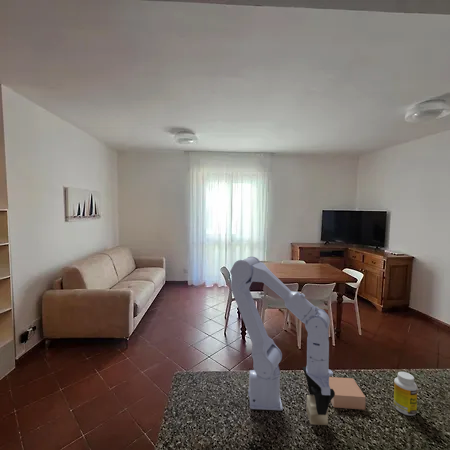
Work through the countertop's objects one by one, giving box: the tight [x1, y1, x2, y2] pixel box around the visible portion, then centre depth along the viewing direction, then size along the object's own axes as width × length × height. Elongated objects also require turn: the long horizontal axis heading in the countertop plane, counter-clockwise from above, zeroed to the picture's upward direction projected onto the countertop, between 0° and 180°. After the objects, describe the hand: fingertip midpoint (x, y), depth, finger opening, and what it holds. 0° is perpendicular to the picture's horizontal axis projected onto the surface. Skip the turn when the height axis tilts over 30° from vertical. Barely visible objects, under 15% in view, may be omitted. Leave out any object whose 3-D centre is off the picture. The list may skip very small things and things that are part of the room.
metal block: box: [305, 394, 329, 426], centre depth 72 cm, size 4×4×5 cm
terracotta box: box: [329, 376, 367, 411], centre depth 80 cm, size 9×9×4 cm
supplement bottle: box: [393, 371, 418, 417], centre depth 75 cm, size 6×6×10 cm
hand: (317, 403), depth 72 cm, fingers open, 7 cm apart
